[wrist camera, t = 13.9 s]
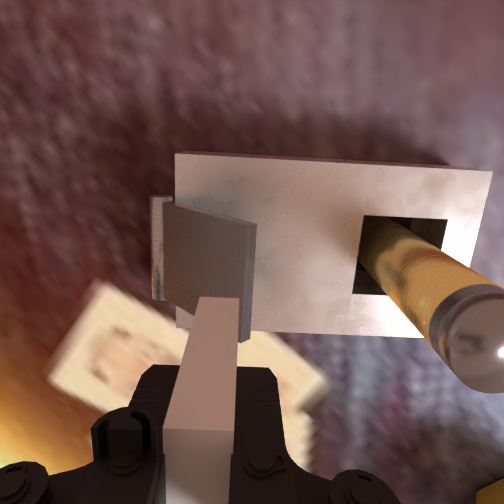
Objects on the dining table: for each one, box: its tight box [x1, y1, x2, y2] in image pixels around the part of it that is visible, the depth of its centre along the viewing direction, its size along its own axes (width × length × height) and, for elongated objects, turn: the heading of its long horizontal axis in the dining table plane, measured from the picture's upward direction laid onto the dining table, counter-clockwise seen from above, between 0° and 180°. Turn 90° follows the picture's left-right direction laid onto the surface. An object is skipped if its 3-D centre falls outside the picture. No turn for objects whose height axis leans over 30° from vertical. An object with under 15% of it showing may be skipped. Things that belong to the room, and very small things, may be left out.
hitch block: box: [175, 150, 493, 338], centre depth 27 cm, size 20×12×5 cm, turn 87°
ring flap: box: [149, 195, 257, 343], centre depth 22 cm, size 9×7×1 cm
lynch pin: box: [357, 215, 504, 393], centre depth 22 cm, size 4×4×16 cm
